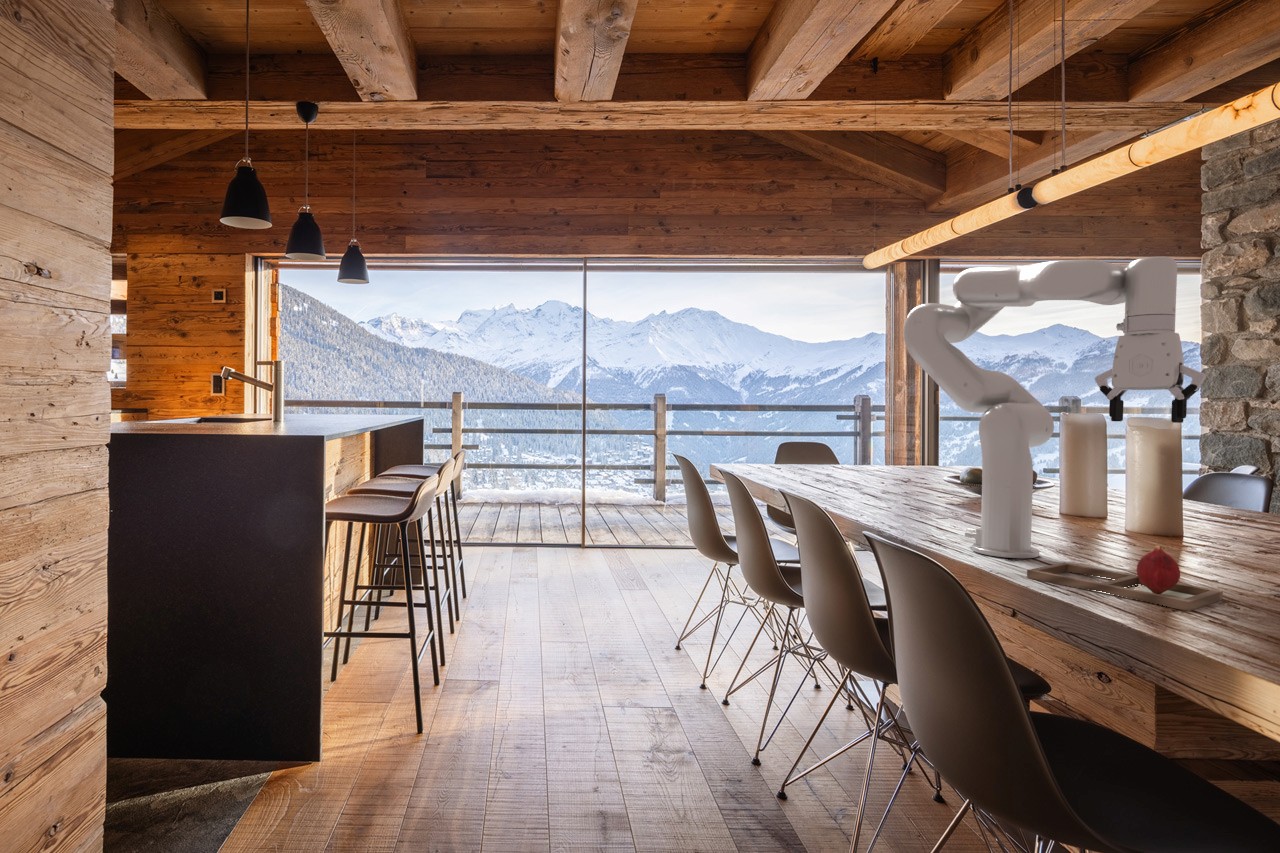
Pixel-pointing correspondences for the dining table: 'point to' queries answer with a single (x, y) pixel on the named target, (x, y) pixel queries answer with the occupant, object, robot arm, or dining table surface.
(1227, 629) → the dining table surface
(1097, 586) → the rail frame
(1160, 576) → the onion
